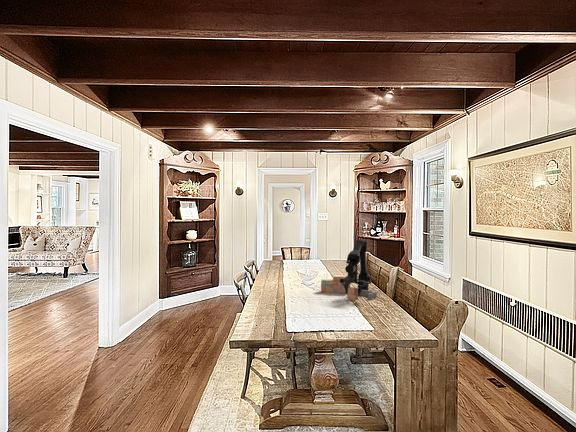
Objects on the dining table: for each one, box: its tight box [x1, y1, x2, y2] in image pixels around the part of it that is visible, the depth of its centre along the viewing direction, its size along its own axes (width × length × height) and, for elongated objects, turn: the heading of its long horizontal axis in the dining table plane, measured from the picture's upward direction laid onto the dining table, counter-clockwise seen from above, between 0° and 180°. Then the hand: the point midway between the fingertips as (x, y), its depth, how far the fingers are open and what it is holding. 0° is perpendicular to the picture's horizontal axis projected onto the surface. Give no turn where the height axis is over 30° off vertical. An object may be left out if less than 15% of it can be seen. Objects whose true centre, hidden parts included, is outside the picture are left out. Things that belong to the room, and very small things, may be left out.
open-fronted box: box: [359, 290, 378, 301], centre depth 322 cm, size 11×17×4 cm, turn 50°
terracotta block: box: [347, 286, 359, 301], centre depth 312 cm, size 5×5×8 cm
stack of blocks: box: [320, 274, 351, 294], centre depth 338 cm, size 21×6×12 cm, turn 86°
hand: (352, 294), depth 312 cm, fingers open, 9 cm apart
